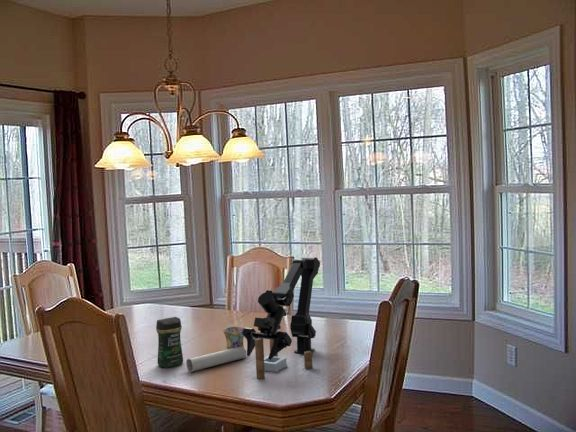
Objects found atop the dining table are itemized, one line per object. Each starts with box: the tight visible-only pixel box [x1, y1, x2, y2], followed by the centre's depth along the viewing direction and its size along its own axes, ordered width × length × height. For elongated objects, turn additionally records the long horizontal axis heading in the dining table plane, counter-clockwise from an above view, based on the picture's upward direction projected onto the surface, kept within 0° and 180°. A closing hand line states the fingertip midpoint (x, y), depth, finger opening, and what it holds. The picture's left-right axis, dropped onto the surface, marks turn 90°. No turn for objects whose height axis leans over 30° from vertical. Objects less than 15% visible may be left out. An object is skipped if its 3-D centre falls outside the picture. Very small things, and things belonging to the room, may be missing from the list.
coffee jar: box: [155, 316, 184, 369], centre depth 218 cm, size 10×8×19 cm
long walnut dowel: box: [254, 338, 266, 380], centre depth 199 cm, size 3×3×14 cm
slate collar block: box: [264, 354, 288, 373], centre depth 210 cm, size 8×8×3 cm
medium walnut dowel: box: [269, 339, 279, 357], centre depth 218 cm, size 3×3×9 cm
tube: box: [185, 347, 247, 374], centre depth 216 cm, size 5×5×25 cm
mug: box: [222, 326, 245, 350], centre depth 228 cm, size 12×9×11 cm
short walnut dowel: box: [303, 351, 313, 370], centre depth 207 cm, size 3×3×6 cm
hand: (258, 357), depth 198 cm, fingers open, 9 cm apart
